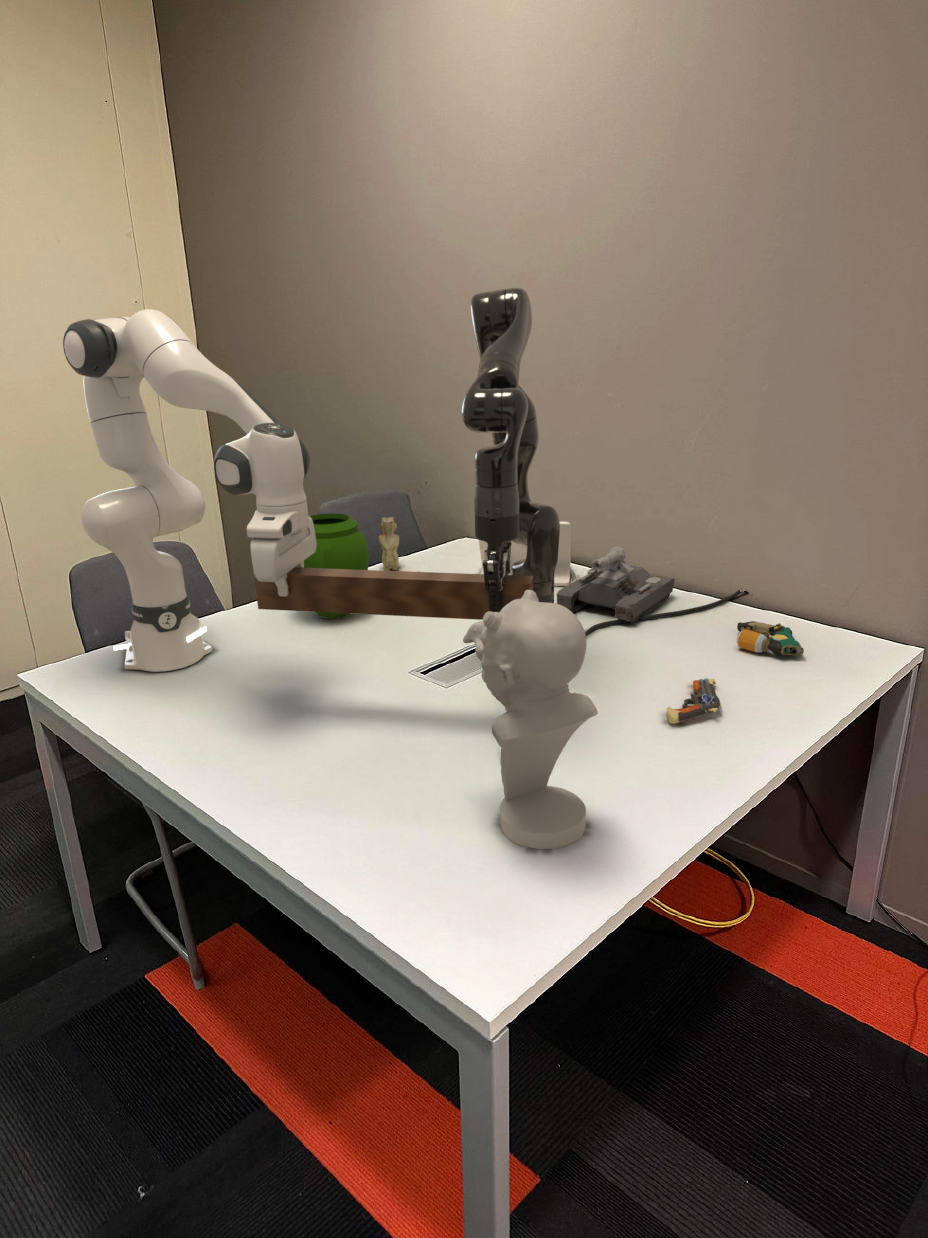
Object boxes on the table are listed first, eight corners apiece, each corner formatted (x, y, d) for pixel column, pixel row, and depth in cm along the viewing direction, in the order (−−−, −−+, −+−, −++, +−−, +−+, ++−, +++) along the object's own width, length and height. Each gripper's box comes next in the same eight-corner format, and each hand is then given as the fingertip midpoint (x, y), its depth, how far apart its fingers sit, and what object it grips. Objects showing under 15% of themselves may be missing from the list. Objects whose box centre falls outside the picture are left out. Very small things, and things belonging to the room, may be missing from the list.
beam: (533, 613, 151) (533, 575, 148) (529, 622, 147) (529, 583, 144) (267, 601, 162) (263, 566, 159) (258, 609, 158) (253, 573, 155)
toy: (603, 584, 229) (605, 530, 224) (673, 597, 218) (677, 540, 213) (555, 612, 210) (556, 553, 205) (630, 627, 199) (633, 566, 194)
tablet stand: (569, 585, 229) (570, 524, 223) (476, 584, 232) (475, 523, 226) (570, 566, 246) (571, 508, 240) (484, 564, 249) (483, 507, 243)
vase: (389, 608, 216) (383, 514, 208) (339, 633, 201) (330, 533, 192) (330, 596, 226) (322, 506, 218) (278, 619, 211) (267, 523, 202)
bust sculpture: (526, 759, 144) (526, 560, 132) (615, 831, 124) (624, 605, 112) (442, 785, 137) (433, 578, 125) (521, 866, 117) (520, 629, 105)
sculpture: (401, 564, 252) (398, 514, 246) (400, 571, 245) (397, 520, 240) (381, 565, 251) (378, 515, 246) (380, 572, 245) (377, 521, 239)
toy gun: (667, 713, 153) (725, 711, 151) (663, 676, 171) (714, 673, 169) (668, 727, 154) (725, 725, 151) (664, 689, 171) (715, 686, 169)
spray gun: (738, 629, 198) (807, 640, 192) (727, 651, 184) (801, 664, 178) (740, 612, 197) (810, 622, 191) (729, 633, 182) (804, 645, 176)
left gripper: (290, 503, 162) (297, 572, 167) (241, 530, 144) (250, 607, 149) (321, 504, 161) (327, 573, 166) (276, 531, 142) (284, 609, 147)
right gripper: (483, 500, 151) (485, 592, 157) (465, 520, 138) (468, 619, 144) (525, 501, 149) (525, 593, 155) (511, 521, 136) (512, 621, 142)
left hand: (290, 590), depth 157 cm, fingers closed on beam, 4 cm apart
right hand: (498, 605), depth 149 cm, fingers closed on beam, 4 cm apart
